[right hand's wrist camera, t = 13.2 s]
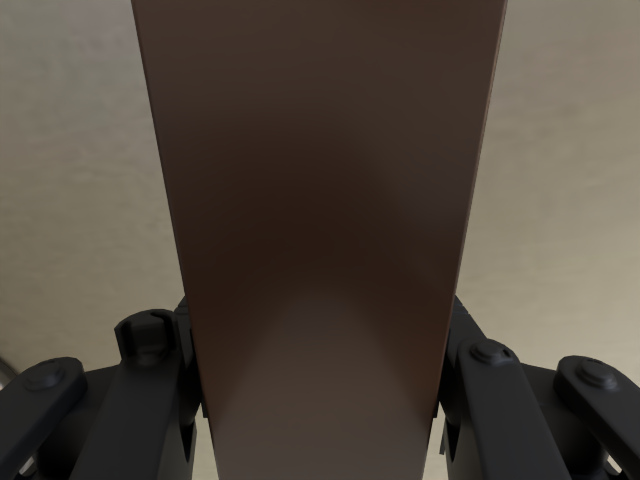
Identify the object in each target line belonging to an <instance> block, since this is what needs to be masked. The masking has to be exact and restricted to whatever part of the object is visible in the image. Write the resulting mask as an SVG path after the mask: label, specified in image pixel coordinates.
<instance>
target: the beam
mask: <svg viewBox="0 0 640 480" xmlns="http://www.w3.org/2000/svg"><path fill="white" fill-rule="evenodd" d="M507 2H508V0H131V3H132V9H133V14H134V19H135V25H136V30H137V36H138V41H139V47H140V52H141V58H142V63H143V68H144V74H145V79H146V85H147V90H148V96H149V101H150V107H151V112H152V118H153V123H154V128H155V134H156V139H157V145H158V150H159V156H160V161H161V167H162V172H163V177H164V183H165V188H166V194H167V199H168V205H169V210H170V216H171V221H172V226H173V232H174V237H175V243H176V248H177V254H178V259H179V265H180V270H181V276H182V281H183V286H184V292H185V297H186V303H187V308H188V314H189V319H190V325H191V330H192V335H193V341H194V346H195V352H196V357H197V363H198V368H199V374H200V379H201V384H202V390H203V395H204V401H205V406H206V412H207V417H208V423H209V428H210V434H211V439H212V444H213V450H214V455H215V461H216V466H217V472H218V477H219V480H422V478H423V472H424V467H425V461H426V456H427V450H428V444H429V439H430V433H431V428H432V422H433V416H434V411H435V405H436V400H437V394H438V388H439V383H440V377H441V372H442V366H443V360H444V355H445V349H446V344H447V338H448V332H449V327H450V321H451V316H452V310H453V304H454V299H455V293H456V288H457V282H458V276H459V271H460V265H461V260H462V254H463V248H464V243H465V237H466V232H467V226H468V220H469V215H470V209H471V204H472V198H473V192H474V187H475V181H476V176H477V170H478V164H479V159H480V153H481V147H482V142H483V136H484V131H485V125H486V119H487V114H488V108H489V103H490V97H491V91H492V86H493V80H494V75H495V69H496V63H497V58H498V52H499V47H500V41H501V35H502V30H503V24H504V19H505V13H506V7H507Z"/></svg>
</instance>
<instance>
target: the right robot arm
mask: <svg viewBox="0 0 640 480" xmlns="http://www.w3.org/2000/svg"><path fill="white" fill-rule="evenodd" d="M114 331H115V335H116V338H117V342H118V346H119V350H120V354H121V358H122V360H121V362H120V364H118V365H115V366H111V367H106V368H102V369H97V370H92V371H88V372H84V369H83V365H82V363H81V362H80V361H79V360H78V359H77V358H71V357H61V358H54V359H50V360H46V361H43V362H40V363H38V364H37V365H34V366H32V367H30V368H28V369H26V370H25V371H24V372H22V373H21V374H19V375H18V376H16V375H15V374H14V373H13V372H12V371H11V370H10V369H9V368H8V367H7V366H6V365H4V364H3V363H2V362H1V361H0V480H192V471H193V462H194V453H195V444H196V435H197V429H196V423H195V415H196V413H197V410H198V408H199V406H200V403H201V406H202V412H203V418H208V417H207V412H206V406H205V401H204V395H203V390H202V384H201V379H200V374H199V368H198V363H197V357H196V352H195V346H194V341H193V335H192V330H191V325H190V319H189V314H188V308H187V303H186V297H185V296H184V298H183V299H182V300H181V302H180V303H179V305H178V307H176V309H175V310H174V312H172V311H170V310H166V309H151V310H146V311H141V312H138V313H136V314H133V315H131V316H129V317H127V318H125V319H124V320H122V321H121V322H119V324H118V325H117V326H116V327H115V328H114ZM439 401H440V403H441V406H442V408H443V411H444V413H445V416H446V417H445V423H444V429H443V434H442V440H441V446H440V453H439V454H442V455H444V452H445V453H446V462H447V471H448V480H640V388H639V387H638V386H637V385H636V384H635V383H633V382H632V381H631V380H630V379H629V378H628V377H627V376H625V375H624V374H622V373H621V372H620V371H618V370H617V369H615V368H614V367H612V366H610V365H608V364H605V363H603V362H602V361H599V360H596V359H593V358H589V357H584V356H575V355H573V356H567V357H564V358H562V359H561V360H560V361H559V363H558V366H557V370H556V371H555V370H550V369H546V368H541V367H536V366H531V365H527V364H524V363H520V361H519V359H518V357H517V356H516V355H515V353H514V352H513V351H512V350H511V349H509V348H508V347H507V346H505V345H504V344H501V343H499V342H497V341H495V340H492V339H488V338H486V336H485V335H484V334H483V332H482V331H481V329H480V328H479V327H478V325H477V324H476V322H475V321H474V320H473V318H472V317H471V315H470V314H468V311H467V310H466V309H465V307H464V306H463V304H462V303H461V302H460V300H459V299H458V297H457V296H456V295H455V299H454V304H453V310H452V316H451V321H450V327H449V332H448V338H447V344H446V349H445V355H444V360H443V366H442V372H441V377H440V383H439V388H438V394H437V400H436V405H435V411H434V416H433V418H437V413H438V407H439ZM609 455H610V456H611V457H612V458H613V459H614V461H615V462H616V463H617V464H618V465H619V467H620V468H621V469H622V471H621V472H620V473H618V472H617V471H616V470H615V469H614V468H613V467H612V466H611V464H610V463H609V462H608V461H607V459H608V457H609Z"/></svg>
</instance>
